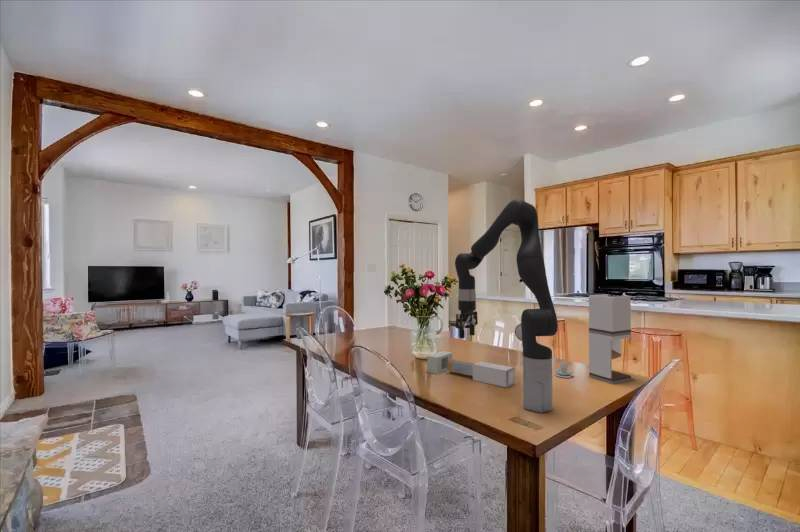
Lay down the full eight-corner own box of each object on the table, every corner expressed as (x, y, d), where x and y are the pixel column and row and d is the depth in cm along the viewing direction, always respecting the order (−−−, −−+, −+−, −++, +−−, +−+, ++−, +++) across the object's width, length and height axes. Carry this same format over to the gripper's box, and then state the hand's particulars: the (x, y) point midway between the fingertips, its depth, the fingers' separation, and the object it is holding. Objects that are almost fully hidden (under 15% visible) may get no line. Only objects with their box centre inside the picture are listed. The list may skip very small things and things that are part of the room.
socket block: (437, 374, 161) (437, 357, 161) (427, 371, 165) (427, 355, 165) (452, 368, 170) (452, 352, 170) (442, 366, 174) (442, 351, 174)
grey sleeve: (507, 387, 143) (507, 371, 143) (472, 379, 153) (472, 364, 153) (514, 383, 148) (514, 367, 148) (479, 376, 158) (479, 361, 158)
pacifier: (571, 380, 153) (574, 376, 158) (571, 365, 153) (574, 361, 158) (553, 377, 157) (556, 373, 162) (553, 362, 157) (555, 359, 162)
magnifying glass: (533, 365, 174) (533, 323, 174) (533, 366, 172) (532, 324, 172) (515, 363, 178) (515, 322, 178) (514, 364, 177) (514, 322, 177)
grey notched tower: (612, 384, 146) (612, 297, 146) (589, 377, 156) (588, 295, 156) (630, 380, 151) (630, 296, 151) (606, 373, 161) (606, 294, 161)
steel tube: (502, 382, 145) (502, 371, 145) (447, 370, 162) (447, 360, 162) (506, 379, 149) (506, 369, 149) (452, 368, 166) (452, 359, 166)
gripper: (466, 301, 150) (466, 340, 150) (482, 298, 161) (482, 335, 161) (450, 300, 155) (450, 338, 155) (467, 297, 166) (468, 333, 166)
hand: (467, 336), depth 158 cm, fingers open, 8 cm apart
